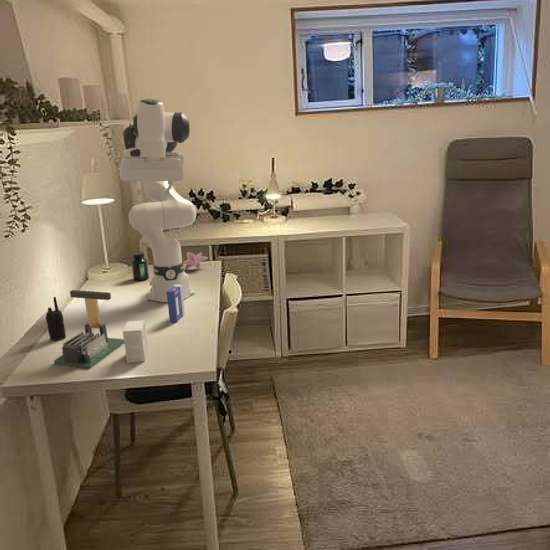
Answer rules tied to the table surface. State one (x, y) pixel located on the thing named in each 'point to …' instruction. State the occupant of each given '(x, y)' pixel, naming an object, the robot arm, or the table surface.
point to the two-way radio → (55, 323)
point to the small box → (135, 341)
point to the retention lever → (92, 304)
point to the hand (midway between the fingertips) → (152, 195)
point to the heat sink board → (88, 348)
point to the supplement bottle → (139, 267)
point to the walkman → (175, 303)
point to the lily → (193, 260)
